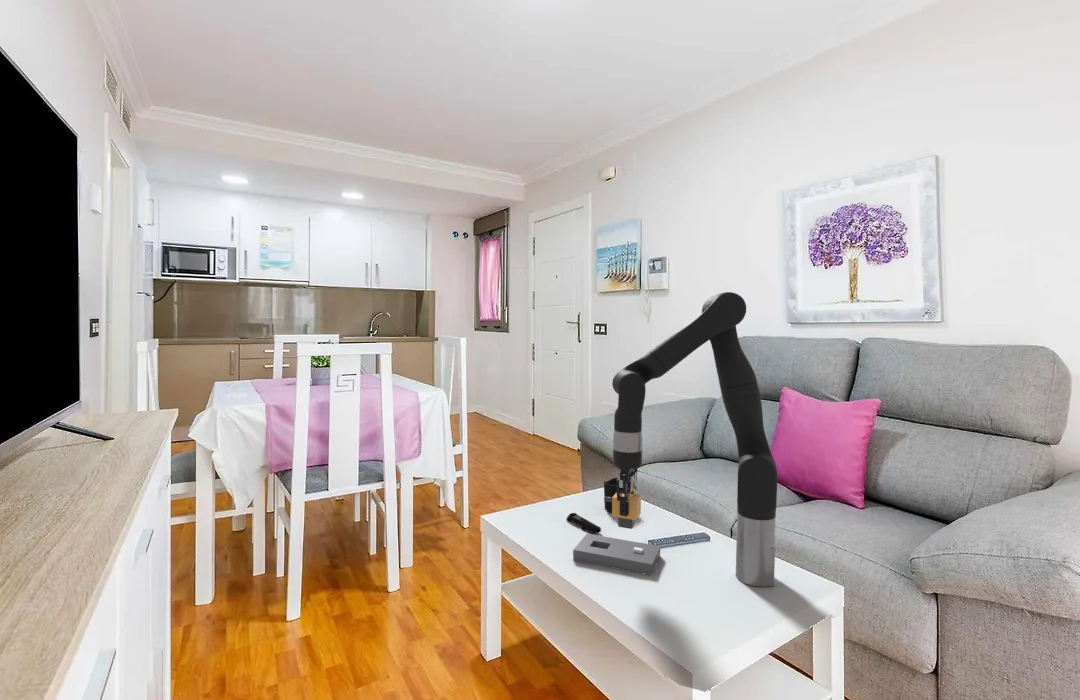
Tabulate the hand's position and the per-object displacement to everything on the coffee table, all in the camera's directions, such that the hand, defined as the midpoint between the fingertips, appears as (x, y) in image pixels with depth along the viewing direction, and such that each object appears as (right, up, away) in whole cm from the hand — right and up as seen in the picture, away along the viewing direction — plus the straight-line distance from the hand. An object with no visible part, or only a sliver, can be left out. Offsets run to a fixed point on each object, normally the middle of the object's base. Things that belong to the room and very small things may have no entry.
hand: (626, 511), depth 137 cm
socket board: (-1, -17, +12) cm, 21 cm away
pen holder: (+5, -15, +50) cm, 52 cm away
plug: (-1, -4, +1) cm, 4 cm away
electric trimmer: (-8, -16, +34) cm, 39 cm away
